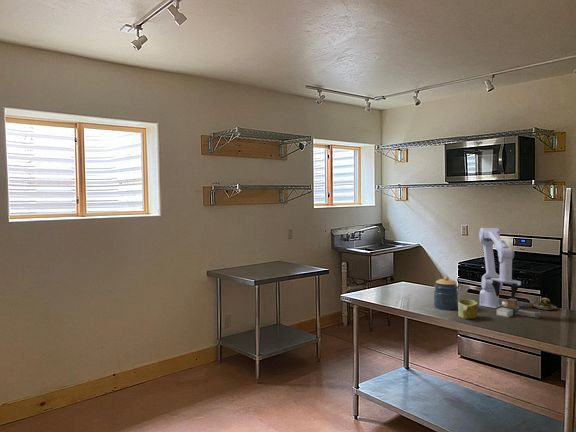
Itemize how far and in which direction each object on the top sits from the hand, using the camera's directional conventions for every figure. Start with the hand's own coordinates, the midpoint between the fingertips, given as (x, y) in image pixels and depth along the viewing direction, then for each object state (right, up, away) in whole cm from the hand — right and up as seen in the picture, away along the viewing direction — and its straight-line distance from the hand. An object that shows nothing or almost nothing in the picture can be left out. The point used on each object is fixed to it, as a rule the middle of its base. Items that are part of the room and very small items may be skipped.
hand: (505, 297), depth 236 cm
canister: (-25, -9, +17) cm, 31 cm away
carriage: (+6, -9, +5) cm, 12 cm away
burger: (+28, -9, +14) cm, 33 cm away
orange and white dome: (0, -5, 0) cm, 5 cm away
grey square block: (0, -10, 0) cm, 10 cm away
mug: (-22, -10, -4) cm, 24 cm away
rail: (+9, -9, +2) cm, 13 cm away
